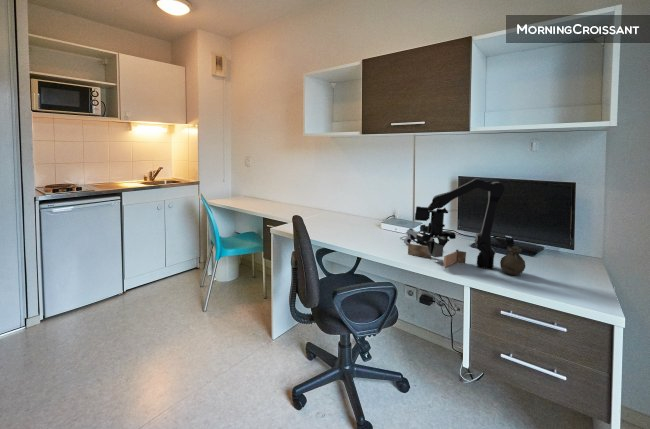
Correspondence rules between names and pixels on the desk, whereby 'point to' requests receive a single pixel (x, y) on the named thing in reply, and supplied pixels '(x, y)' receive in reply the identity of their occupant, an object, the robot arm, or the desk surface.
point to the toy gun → (413, 238)
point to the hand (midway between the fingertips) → (434, 253)
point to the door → (450, 259)
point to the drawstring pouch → (513, 261)
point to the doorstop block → (436, 250)
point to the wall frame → (422, 251)
